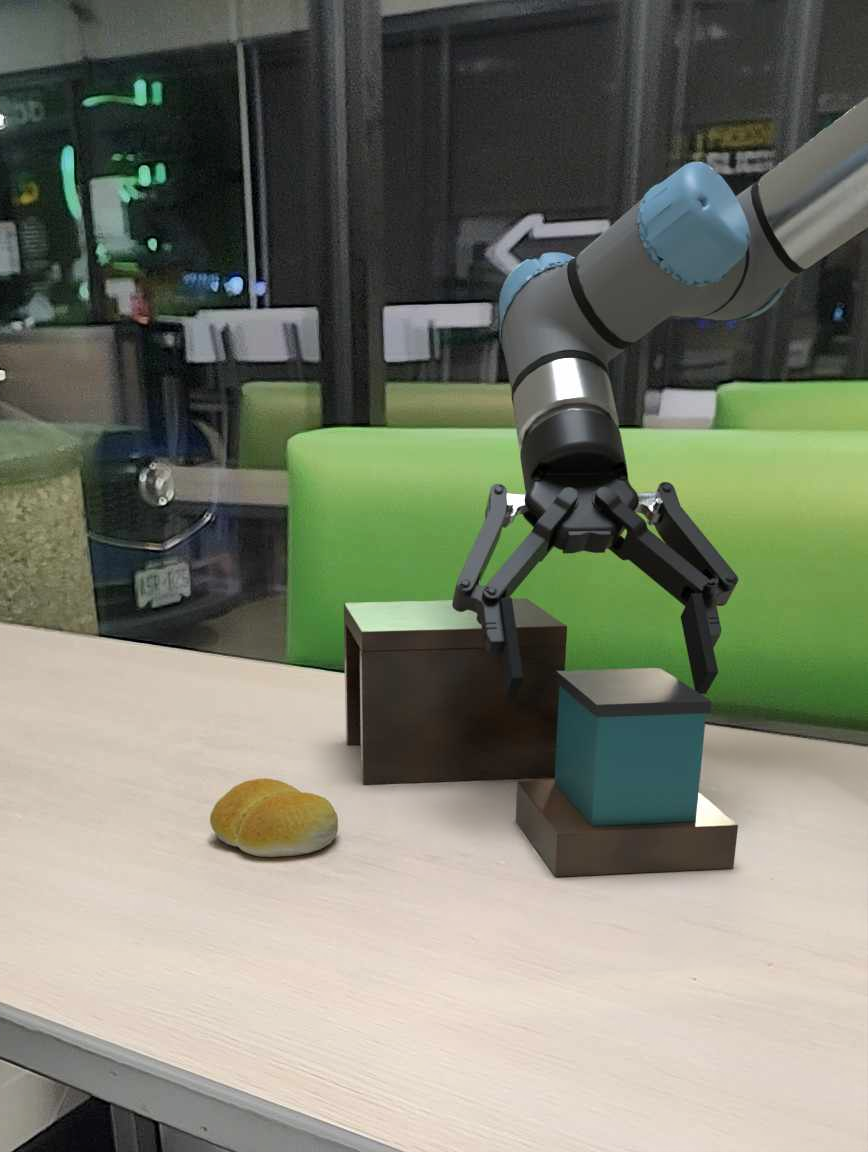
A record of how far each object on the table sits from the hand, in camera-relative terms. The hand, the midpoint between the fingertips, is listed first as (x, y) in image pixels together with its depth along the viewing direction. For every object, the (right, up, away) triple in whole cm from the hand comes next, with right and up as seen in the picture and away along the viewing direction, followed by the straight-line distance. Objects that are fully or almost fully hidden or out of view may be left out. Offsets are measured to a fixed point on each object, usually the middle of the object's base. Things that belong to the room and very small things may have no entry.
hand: (611, 686), depth 91 cm
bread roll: (-23, -11, +2) cm, 26 cm away
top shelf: (-10, -2, +21) cm, 24 cm away
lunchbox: (+1, -8, -1) cm, 8 cm away
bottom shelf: (+1, -11, +1) cm, 11 cm away
